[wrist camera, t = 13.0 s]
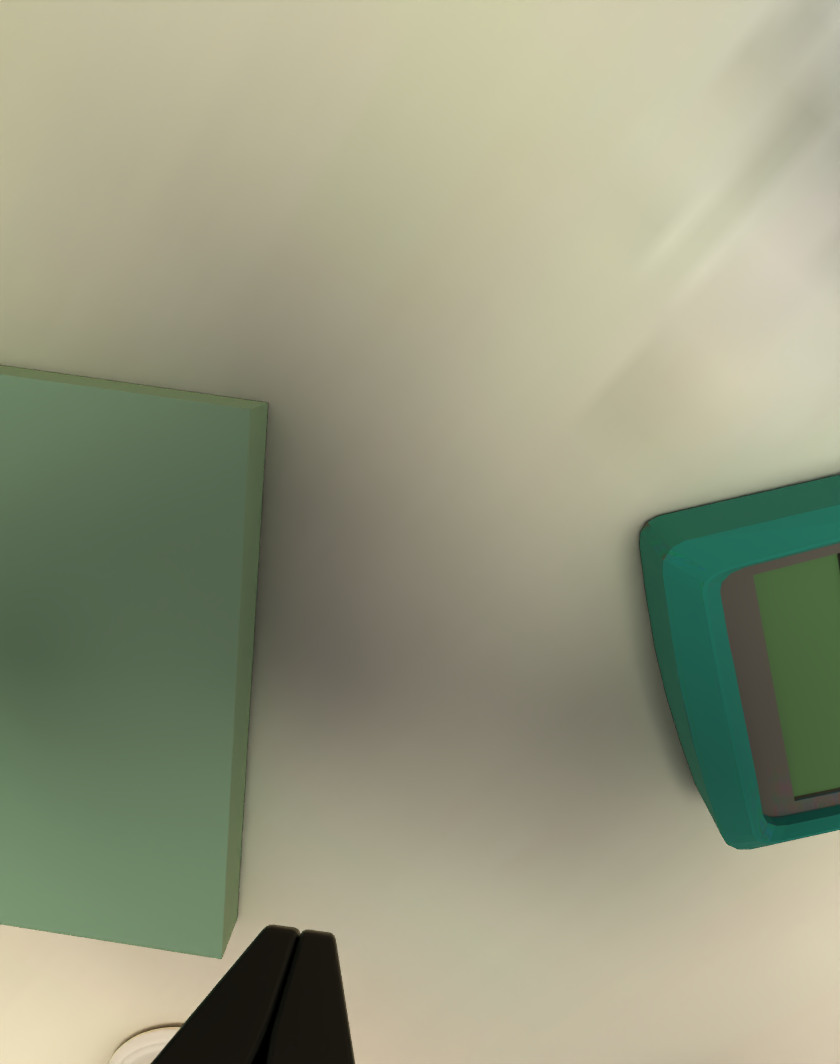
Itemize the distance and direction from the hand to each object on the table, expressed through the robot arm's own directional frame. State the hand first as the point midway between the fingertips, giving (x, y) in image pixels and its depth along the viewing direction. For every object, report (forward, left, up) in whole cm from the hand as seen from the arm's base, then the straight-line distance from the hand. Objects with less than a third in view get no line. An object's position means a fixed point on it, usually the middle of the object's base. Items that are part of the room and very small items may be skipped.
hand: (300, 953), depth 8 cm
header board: (-2, +9, -8) cm, 12 cm away
